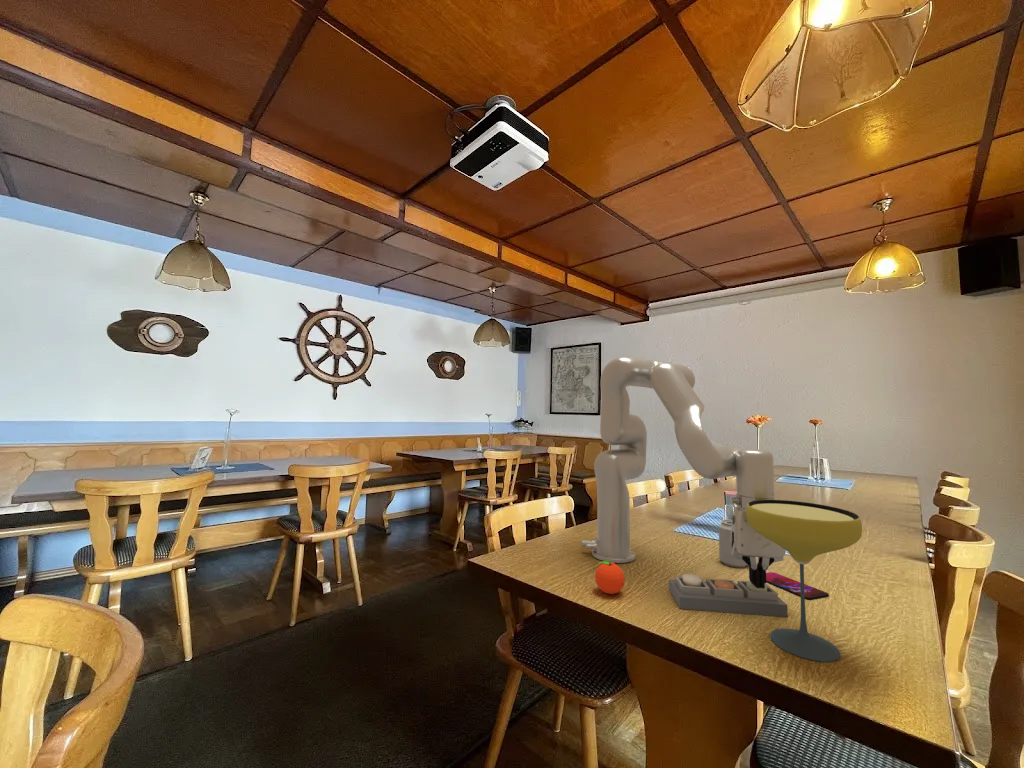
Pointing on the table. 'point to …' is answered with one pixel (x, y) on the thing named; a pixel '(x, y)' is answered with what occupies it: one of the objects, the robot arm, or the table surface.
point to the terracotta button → (723, 584)
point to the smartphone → (794, 586)
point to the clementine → (609, 577)
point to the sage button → (753, 588)
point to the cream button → (692, 580)
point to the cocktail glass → (804, 556)
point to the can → (727, 546)
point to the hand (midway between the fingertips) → (757, 585)
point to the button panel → (727, 598)
